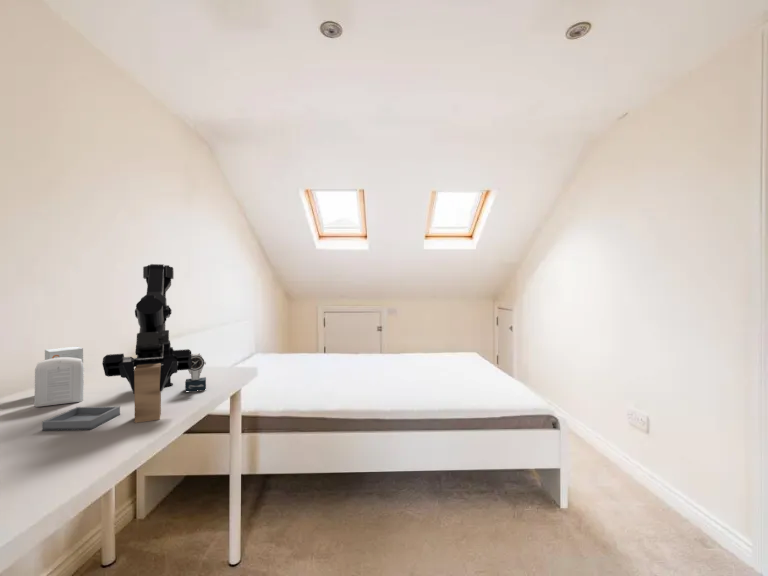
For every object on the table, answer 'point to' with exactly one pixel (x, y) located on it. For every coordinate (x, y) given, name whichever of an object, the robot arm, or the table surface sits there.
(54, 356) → the small box
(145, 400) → the walnut block
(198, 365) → the watch
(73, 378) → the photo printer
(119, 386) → the table surface
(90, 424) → the tray
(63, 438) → the table surface
